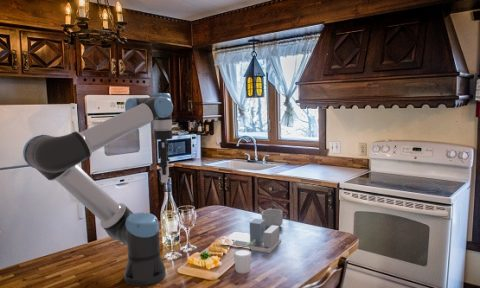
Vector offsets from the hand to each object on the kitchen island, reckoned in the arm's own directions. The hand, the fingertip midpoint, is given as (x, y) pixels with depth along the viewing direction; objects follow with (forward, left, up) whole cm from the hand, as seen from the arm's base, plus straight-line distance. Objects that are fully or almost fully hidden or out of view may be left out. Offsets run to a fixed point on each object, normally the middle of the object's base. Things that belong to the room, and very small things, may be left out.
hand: (165, 179), depth 159 cm
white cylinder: (-24, -29, -33) cm, 50 cm away
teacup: (+23, -52, -33) cm, 66 cm away
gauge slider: (-2, -39, -31) cm, 49 cm away
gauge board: (+2, -37, -33) cm, 49 cm away
